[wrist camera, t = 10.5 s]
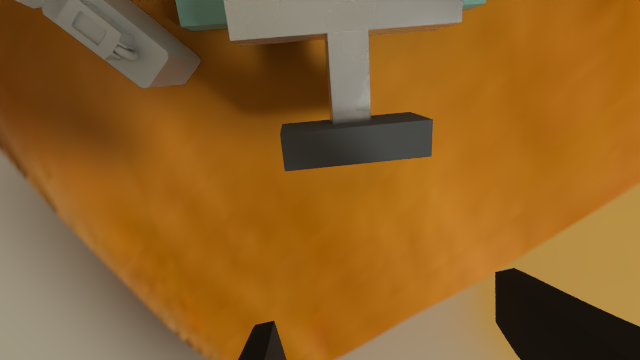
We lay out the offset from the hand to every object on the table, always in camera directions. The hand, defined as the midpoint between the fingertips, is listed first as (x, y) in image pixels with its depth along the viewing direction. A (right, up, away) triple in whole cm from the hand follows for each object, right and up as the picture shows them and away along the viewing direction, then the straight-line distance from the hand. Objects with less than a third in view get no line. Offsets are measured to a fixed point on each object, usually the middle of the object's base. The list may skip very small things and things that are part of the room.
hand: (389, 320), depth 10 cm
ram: (-1, +10, +5) cm, 11 cm away
